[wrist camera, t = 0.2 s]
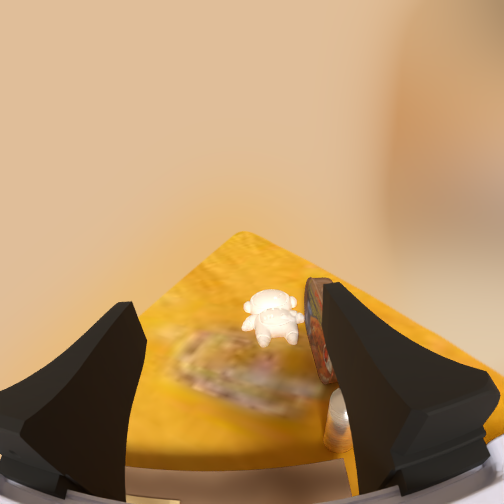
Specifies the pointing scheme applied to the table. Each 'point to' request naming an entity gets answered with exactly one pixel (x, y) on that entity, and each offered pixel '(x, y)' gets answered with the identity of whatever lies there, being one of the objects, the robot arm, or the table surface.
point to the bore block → (240, 485)
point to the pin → (337, 425)
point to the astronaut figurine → (272, 316)
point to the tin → (317, 328)
